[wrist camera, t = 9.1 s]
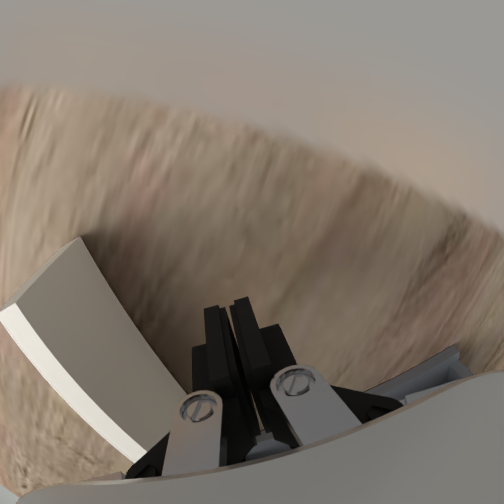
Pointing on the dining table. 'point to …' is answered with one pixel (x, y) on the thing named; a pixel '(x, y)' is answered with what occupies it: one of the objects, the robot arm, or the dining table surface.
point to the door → (93, 351)
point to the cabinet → (391, 391)
